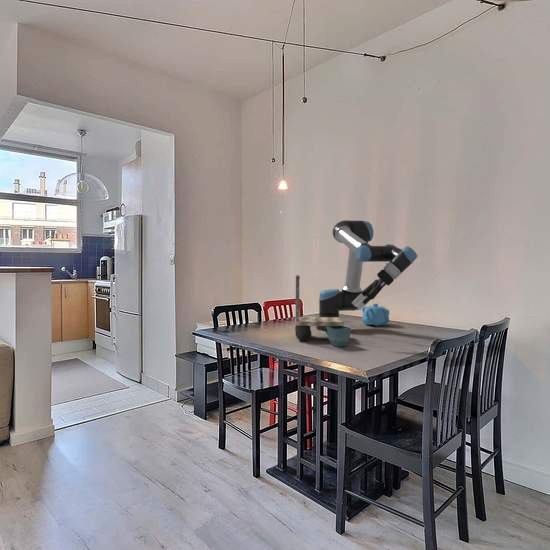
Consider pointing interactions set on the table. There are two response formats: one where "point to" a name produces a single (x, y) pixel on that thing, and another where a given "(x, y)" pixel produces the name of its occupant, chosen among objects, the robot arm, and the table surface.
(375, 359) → the table surface
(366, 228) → the robot arm
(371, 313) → the decorative pot
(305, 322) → the trolley
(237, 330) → the table surface
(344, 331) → the flower pot
